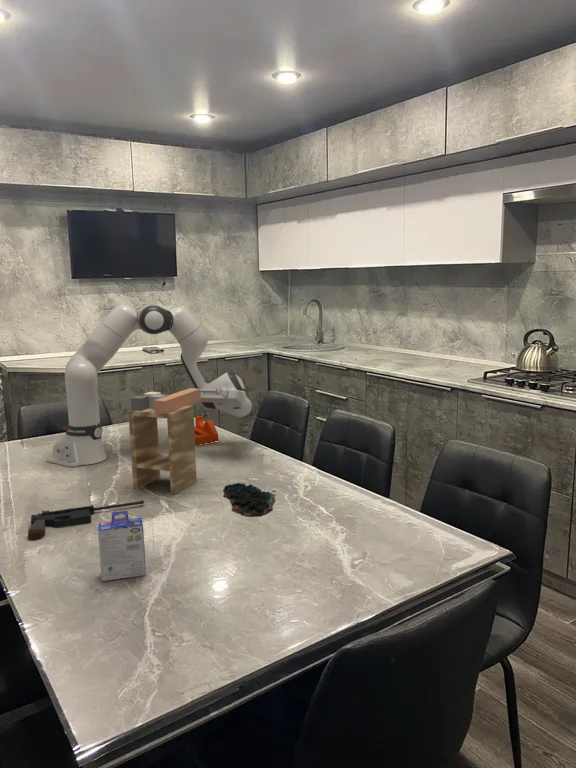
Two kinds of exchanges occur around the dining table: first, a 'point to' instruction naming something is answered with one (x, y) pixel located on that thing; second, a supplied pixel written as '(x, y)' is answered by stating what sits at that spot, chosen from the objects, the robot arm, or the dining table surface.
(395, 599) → the dining table surface
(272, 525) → the dining table surface
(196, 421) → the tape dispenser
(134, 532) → the ink cartridge box
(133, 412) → the oak shelf
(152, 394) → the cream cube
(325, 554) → the dining table surface
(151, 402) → the slate cube
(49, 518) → the firearm
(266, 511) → the mineral specimen
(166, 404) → the terracotta bar
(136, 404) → the charcoal cube
